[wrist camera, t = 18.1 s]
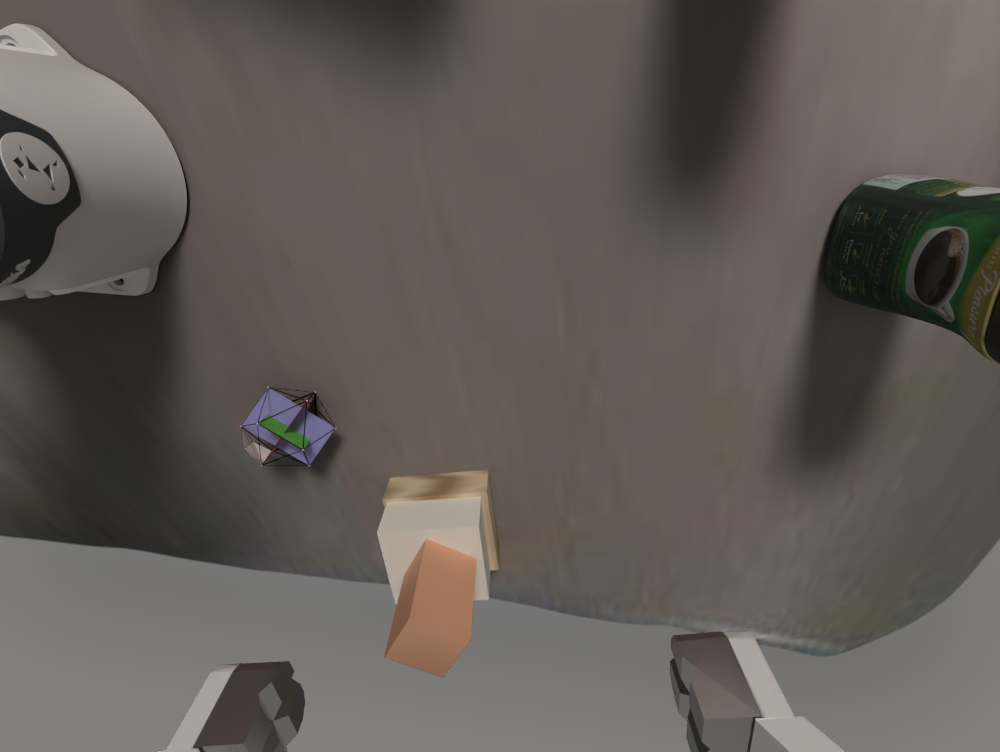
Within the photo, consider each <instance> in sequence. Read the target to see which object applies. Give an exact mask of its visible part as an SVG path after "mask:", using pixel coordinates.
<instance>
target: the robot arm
mask: <svg viewBox="0 0 1000 752" xmlns="http://www.w3.org/2000/svg"><path fill="white" fill-rule="evenodd" d="M186 210H187V192H186V184H185V179H184V175H183V171H182V168H181V165H180V162H179V159H178V157H177V154H176V152H175V150H174V148H173V146H172V144H171V142H170V140H169V138H168V137H167V135H166V133H165V132H164V130H163V129H162V127H161V126H160V124H159V123H158V122H157V121H156V119H155V118H154V117H153V116H152V114H151V113H150V112H149V111H148V110H147V109H146V108H145V107H144V106H143V105H142V104H141V103H140V102H139V101H138V100H137V99H136V98H135V97H134V96H133V95H132V94H130V93H129V92H128V91H127V90H125V89H124V88H123V87H121V86H120V85H118V84H117V83H115V82H114V81H112V80H110V79H109V78H107V77H105V76H103V75H101V74H99V73H97V72H95V71H93V70H91V69H89V68H87V67H85V66H84V65H82V64H80V63H79V62H77V61H76V60H74V59H73V58H72V57H71V56H70V55H69V54H68V53H67V52H66V51H65V50H64V49H63V48H62V47H61V46H60V45H59V44H58V43H57V42H56V41H55V40H53V39H52V38H51V37H50V36H49V35H48V34H47V33H45V32H44V31H43V30H41V29H40V28H38V27H36V26H33V25H27V24H19V23H16V24H12V25H9V26H7V27H5V28H3V29H1V30H0V301H1V300H10V299H16V298H20V297H23V296H25V295H26V296H27V297H28V298H32V299H35V298H44V297H49V296H51V295H52V294H54V295H62V294H67V293H71V292H75V291H78V292H91V293H105V294H118V295H131V296H138V295H142V294H147V293H149V292H151V291H152V290H153V288H154V286H155V283H156V279H157V274H158V268H159V263H160V262H161V260H162V258H163V257H164V256H165V254H166V253H167V252H168V251H169V250H170V249H171V248H172V246H173V245H174V244H175V242H176V241H177V239H178V237H179V235H180V233H181V231H182V228H183V225H184V222H185V217H186ZM120 279H123V281H124V283H123V282H122V281H121V280H120ZM671 649H672V652H673V656H674V658H673V659H672V660H671V661H670V675H671V683H672V689H673V693H674V697H675V701H676V705H677V708H678V711H679V713H680V714H681V716H682V717H684V719H686V721H687V737H686V738H687V741H688V744H689V748H690V751H691V752H845V751H843V750H842V749H841V748H840V747H839V746H837V745H836V744H835V743H834V742H832V741H831V740H830V739H829V738H828V737H827V736H826V735H824V734H823V733H822V732H821V731H820V730H819V729H817V728H816V727H815V726H814V725H813V724H811V723H810V722H809V721H808V720H807V719H806V718H804V717H803V716H794V715H793V713H792V711H791V709H790V707H789V705H788V703H787V701H786V699H785V697H784V695H783V693H782V691H781V689H780V687H779V685H778V683H777V681H776V679H775V677H774V675H773V673H772V671H771V669H770V667H769V665H768V664H767V662H766V660H765V658H764V656H763V654H762V652H761V650H760V648H759V646H758V644H757V642H756V640H755V638H754V636H753V635H752V634H751V633H750V632H749V631H746V630H744V631H732V632H709V633H697V634H687V635H674V636H673V637H672V639H671ZM293 673H294V670H293V668H292V666H291V664H290V662H289V661H285V662H266V663H246V664H243V663H240V664H227V665H226V664H225V665H218V666H217V667H216V668H215V669H213V670H212V672H211V673H210V674H209V675H208V677H207V679H206V681H205V682H204V684H203V686H202V688H201V689H200V691H199V693H198V695H197V696H196V698H195V700H194V701H193V703H192V705H191V707H190V708H189V710H188V712H187V714H186V715H185V717H184V719H183V721H182V722H181V724H180V726H179V728H178V729H177V731H176V733H175V735H174V736H173V738H172V740H171V741H170V743H169V745H168V747H167V749H166V750H159V751H157V752H287V748H286V746H287V745H288V744H289V742H290V741H291V740H292V739H293V738H294V737H295V736H296V735H297V734H298V731H299V728H300V725H301V722H302V720H303V714H304V707H305V698H304V691H303V689H302V686H301V685H300V684H299V683H298V682H296V681H295V680H293V679H292V675H293Z"/></svg>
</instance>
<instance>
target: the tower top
mask: <svg viewBox="0 0 1000 752" xmlns="http://www.w3.org/2000/svg"><path fill="white" fill-rule="evenodd" d="M377 535H378V539H379V543H380V547H381V550H382V554H383V558H384V562H385V566H386V570H387V574H388V578H389V582H390V585H391V589H392V593H393V597H394V601H395V604H396V605H397V602H398V598H399V594H400V590H401V586H402V581H403V577H404V574H405V573H406V571H407V569H408V568H409V566H410V564H411V563H412V561H413V559H414V558H415V556H416V554H417V553H418V551H419V549H420V548H421V546H422V544H423V543H424V541H425V539H428V540H431V541H433V542H436V543H439V544H441V545H444V546H446V547H449V548H451V549H454V550H456V551H459V552H461V553H464V554H466V555H469V556H472V557H474V558H477V562H476V575H475V589H474V600H475V601H476V600H489V589H490V560H489V553H488V545H487V537H486V530H485V522H484V515H483V507H482V500H481V497H467V498H451V499H435V500H419V501H404V502H388V503H387V505H386V507H385V510H384V513H383V516H382V519H381V522H380V525H379V528H378V531H377Z"/></svg>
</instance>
